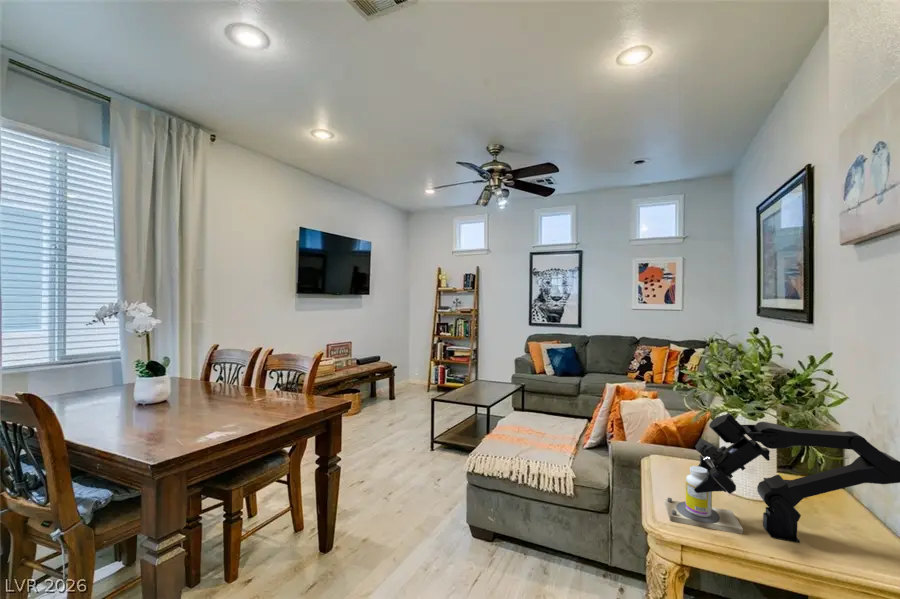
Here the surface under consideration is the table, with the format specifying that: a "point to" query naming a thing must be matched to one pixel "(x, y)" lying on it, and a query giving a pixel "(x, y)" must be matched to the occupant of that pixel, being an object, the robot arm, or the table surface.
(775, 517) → the robot arm
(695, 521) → the jig board
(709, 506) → the supplement bottle
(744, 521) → the table surface
